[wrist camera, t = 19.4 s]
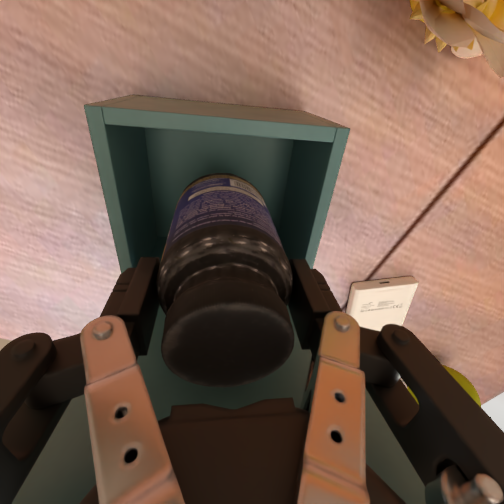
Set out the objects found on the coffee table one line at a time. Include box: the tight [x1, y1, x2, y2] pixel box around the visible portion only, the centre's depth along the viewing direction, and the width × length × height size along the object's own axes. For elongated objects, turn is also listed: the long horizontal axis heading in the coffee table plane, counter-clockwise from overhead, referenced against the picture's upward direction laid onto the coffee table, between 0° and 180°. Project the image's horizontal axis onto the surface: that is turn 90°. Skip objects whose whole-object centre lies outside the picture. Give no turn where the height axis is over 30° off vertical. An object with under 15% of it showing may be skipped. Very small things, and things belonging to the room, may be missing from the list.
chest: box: [84, 95, 350, 274], centre depth 21 cm, size 13×14×9 cm
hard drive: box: [346, 276, 419, 331], centre depth 36 cm, size 2×8×12 cm
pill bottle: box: [156, 173, 294, 388], centre depth 14 cm, size 6×6×11 cm
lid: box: [12, 305, 426, 504], centre depth 14 cm, size 13×14×5 cm
